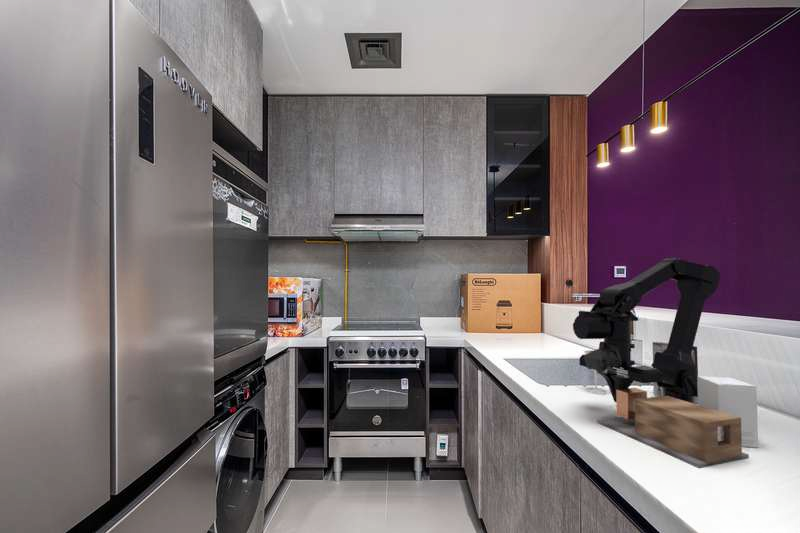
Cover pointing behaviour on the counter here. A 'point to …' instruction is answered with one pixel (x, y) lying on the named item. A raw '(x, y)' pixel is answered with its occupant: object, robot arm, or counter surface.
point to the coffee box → (660, 348)
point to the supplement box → (732, 403)
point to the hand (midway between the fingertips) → (617, 402)
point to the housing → (683, 430)
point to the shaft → (627, 405)
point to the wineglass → (595, 382)
